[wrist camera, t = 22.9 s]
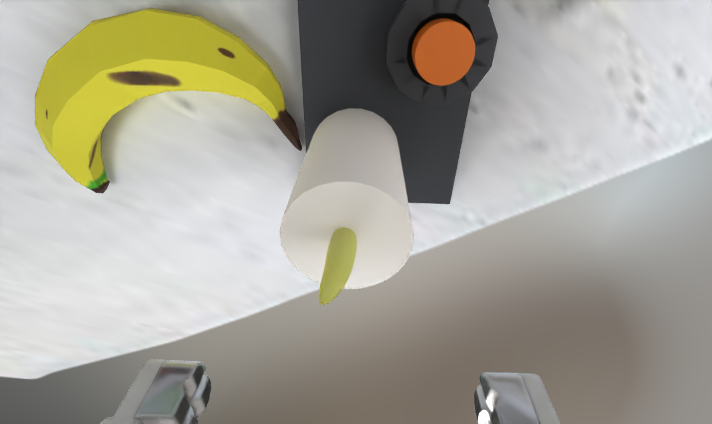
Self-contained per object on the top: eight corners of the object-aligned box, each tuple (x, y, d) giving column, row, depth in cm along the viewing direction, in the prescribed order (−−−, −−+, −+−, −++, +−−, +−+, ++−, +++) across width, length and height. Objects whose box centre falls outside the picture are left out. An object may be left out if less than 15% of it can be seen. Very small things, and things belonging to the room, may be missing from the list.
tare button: (414, 17, 20) (418, 20, 18) (472, 18, 20) (481, 22, 18) (408, 77, 21) (411, 84, 20) (462, 79, 21) (469, 86, 20)
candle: (363, 206, 28) (358, 387, 16) (294, 157, 26) (222, 321, 14) (419, 147, 25) (468, 311, 13) (346, 88, 23) (318, 213, 11)
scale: (300, -18, 21) (290, -18, 19) (491, -13, 21) (508, -12, 19) (310, 191, 29) (305, 211, 26) (451, 196, 29) (459, 217, 26)
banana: (-11, 165, 24) (198, 264, 31) (79, -71, 16) (331, 135, 23) (33, 131, 27) (212, 227, 34) (125, -77, 19) (332, 104, 27)
